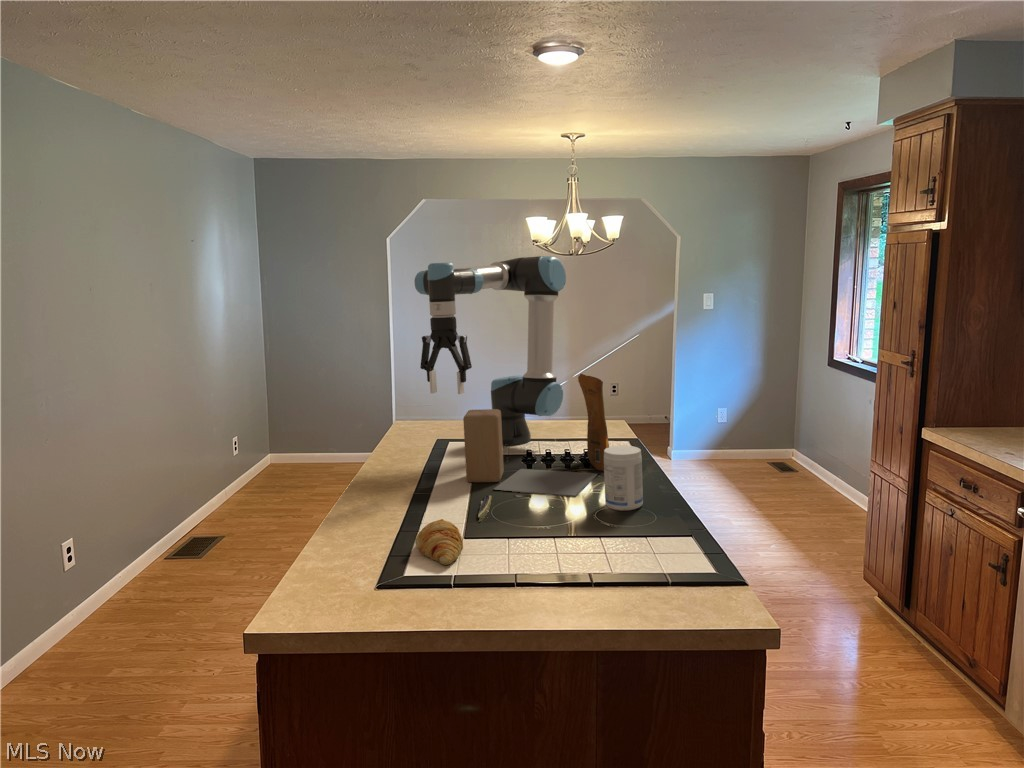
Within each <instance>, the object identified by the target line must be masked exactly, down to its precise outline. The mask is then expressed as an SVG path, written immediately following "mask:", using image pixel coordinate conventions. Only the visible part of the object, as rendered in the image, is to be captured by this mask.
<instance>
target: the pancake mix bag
mask: <svg viewBox="0 0 1024 768" xmlns="http://www.w3.org/2000/svg"><path fill="white" fill-rule="evenodd" d="M577 381H578V383H579V387H580V389H581V392H582V394H583V398H584V401H585V407H586V412H587V430H586V431H587V434H586V438H587V439H586V441H587V443H586V445H587V449H586V450H587V458H588V457H589V460H590V462H589V464H590V465H592V466H593V468H594V469H595V470H598V471H603V472H604V450H605V449H606V448H609V447H610V443H609V435H608V434H609V433H608V425H607V421H606V416H605V415H606V412H605V404H604V390H603V386H604V385H603V384H604V382H603V380H601V379H600V378H599V377H595V376H592V375H586V374H583V373H580V374H579V375H578V377H577Z"/></svg>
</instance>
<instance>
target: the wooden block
mask: <svg viewBox="0 0 1024 768" xmlns="http://www.w3.org/2000/svg"><path fill="white" fill-rule="evenodd" d="M462 420H463V434H464V435H463V436H464V437H463V438H464V454H465V455H464V456H465V457H464V458H465V473H466V474H465V475H466V478H465V479H466V482H468V483H470V482H473V483H498V482H501V479H502V476H503V474H504V471H505V470H504V450H503V449H504V448H503V446H504V445H503V444H502V422H501V411H500V410H498V409H492V408H490V409H489V408H488V409H487V408H486V409H470V410H468V411H467V412H466V413H465V414H464V416H463V418H462Z"/></svg>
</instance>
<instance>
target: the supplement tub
mask: <svg viewBox="0 0 1024 768" xmlns="http://www.w3.org/2000/svg"><path fill="white" fill-rule="evenodd" d="M642 459H643V458H642V450H641V448H639V447H637V446H632V445H614V446H609V448H606V449H605V450H604V471H603V473H604V474H603V475H604V476H603V478H604V479H603V480H604V498H605V499H604V500H605V505H606V506H607V508H610V509H611V510H614V511H622V512H623V511H624V512H625V511H632V510H633V511H634V510H636V509H639V508H640V507H642V506H643V503H644V496H643V494H644V491H643V486H644V485H643V462H642V461H643V460H642Z"/></svg>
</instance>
